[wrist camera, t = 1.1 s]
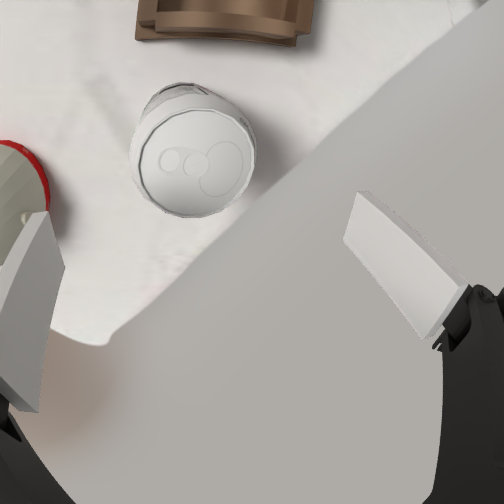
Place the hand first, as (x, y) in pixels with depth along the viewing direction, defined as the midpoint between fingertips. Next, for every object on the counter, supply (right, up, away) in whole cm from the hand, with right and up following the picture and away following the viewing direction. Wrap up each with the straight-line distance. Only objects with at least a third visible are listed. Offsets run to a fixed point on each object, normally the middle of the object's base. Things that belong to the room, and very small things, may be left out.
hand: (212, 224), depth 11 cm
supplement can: (-6, +13, +16) cm, 22 cm away
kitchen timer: (-28, +6, +13) cm, 32 cm away
